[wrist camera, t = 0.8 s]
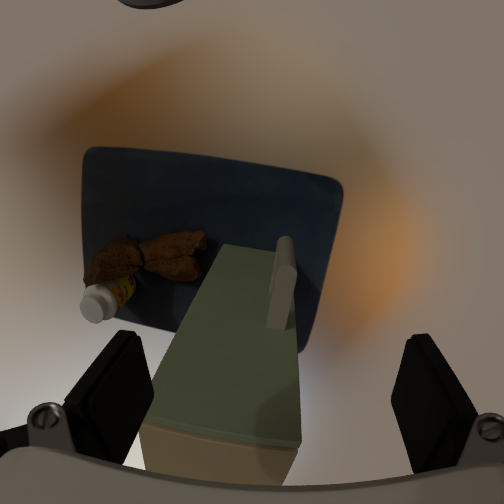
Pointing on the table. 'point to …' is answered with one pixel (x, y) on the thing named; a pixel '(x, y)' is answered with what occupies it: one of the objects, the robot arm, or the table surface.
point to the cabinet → (213, 457)
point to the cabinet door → (236, 353)
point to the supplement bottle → (106, 298)
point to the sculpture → (148, 257)
